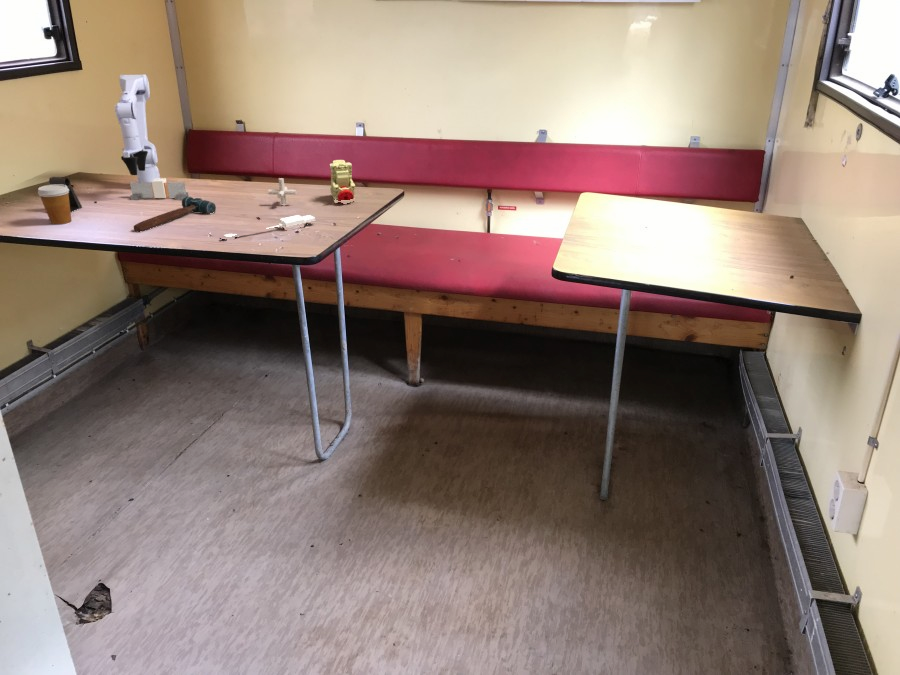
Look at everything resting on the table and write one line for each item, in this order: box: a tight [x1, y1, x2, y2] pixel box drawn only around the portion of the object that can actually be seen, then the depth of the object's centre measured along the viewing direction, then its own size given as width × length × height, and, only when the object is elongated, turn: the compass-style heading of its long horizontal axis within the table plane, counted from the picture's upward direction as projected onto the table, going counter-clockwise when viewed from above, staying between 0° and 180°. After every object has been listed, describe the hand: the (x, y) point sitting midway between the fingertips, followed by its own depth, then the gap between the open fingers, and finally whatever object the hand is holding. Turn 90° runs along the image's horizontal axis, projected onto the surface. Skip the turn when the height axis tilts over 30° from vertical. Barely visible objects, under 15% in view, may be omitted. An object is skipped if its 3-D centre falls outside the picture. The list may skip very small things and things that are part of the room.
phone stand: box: [48, 176, 83, 213], centre depth 245 cm, size 9×6×12 cm, turn 170°
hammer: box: [133, 196, 217, 233], centre depth 237 cm, size 14×5×30 cm
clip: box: [152, 177, 168, 198], centre depth 262 cm, size 5×4×6 cm
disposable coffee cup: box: [37, 184, 72, 225], centre depth 233 cm, size 10×10×12 cm
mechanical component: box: [329, 159, 356, 201], centre depth 258 cm, size 8×17×20 cm, turn 19°
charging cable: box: [223, 214, 316, 237], centre depth 226 cm, size 5×32×3 cm, turn 126°
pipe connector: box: [267, 177, 297, 205], centre depth 253 cm, size 10×10×10 cm
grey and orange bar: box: [129, 181, 189, 201], centre depth 263 cm, size 6×20×6 cm, turn 90°
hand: (138, 172), depth 261 cm, fingers open, 7 cm apart
